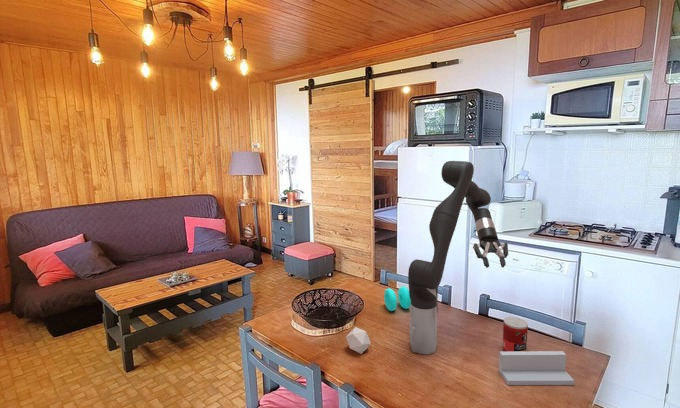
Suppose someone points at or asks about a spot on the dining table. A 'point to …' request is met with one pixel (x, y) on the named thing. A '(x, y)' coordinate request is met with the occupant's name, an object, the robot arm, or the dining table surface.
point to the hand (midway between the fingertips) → (495, 266)
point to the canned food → (515, 334)
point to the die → (358, 340)
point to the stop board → (534, 368)
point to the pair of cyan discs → (392, 300)
